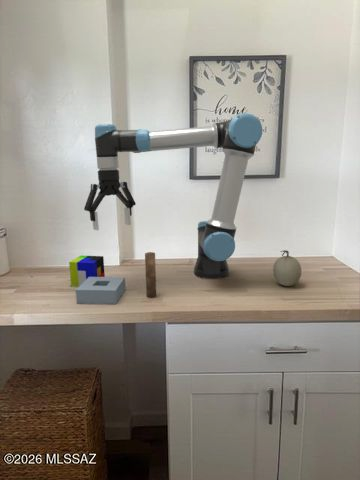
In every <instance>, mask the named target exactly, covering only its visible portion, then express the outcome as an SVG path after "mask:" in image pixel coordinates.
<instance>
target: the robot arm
mask: <svg viewBox="0 0 360 480" xmlns="http://www.w3.org/2000/svg"><path fill="white" fill-rule="evenodd" d="M262 136H263V125H262V123H261V120H260V119H259V118H258V117H257V116H256V115H254V114H252V113H238V114H236V115H235V116H234V117H232V118H230V119H228V120H225V121H222V122H214V123H213V124H212V125H211V126H209V125H208V126H199V127H198V126H197V127H188V128H186V127H185V128H176V129H165V130H152V131H151V130H150V131H149V130H148V129H127V130H123V129H122V130H121V129H120V130H119V129H117V127H116V125H115V124H112V123H108V124H106V123H104V124H103V123H101V124H96V125H95V127H94V140H95V141H94V142H95V152H96V153H95V154H96V164H97V165H96V166H97V169H99V170H98V171H97V177H98V184H96V183H91V184H90V192H89V193H88V197H87V199H86V202H85V206H84V211H86V212H89V220H90V221H91V222H92V228H93V230H94V231H99V230H100V229H99V227H100V226H99V219H98V218H99V217H98V211H96V210H97V209H98V208H99V206H100V204H101V203H102V201H103V200H104V198H105V197H106V196H115V197H117V198H118V199H119V200H120V201H121V203H122V204H123V205H124V206H125V207H124V209H123V210H124V224H125V225H127V226H131V216H132V212H133V211H132V208H133V207H134V206H136V204H137V203H136V202H135V201H136V200H134V199H135V198H133V195H132V194H131V191H130V190H129V186H128V182H126V181H121V182H120V170H119V169H118V168H119V166H120V165H119V154H118V153H132V154H133V153H134V154H140V153H147V152H157V151H169V150H171V151H172V150H181V149H191V148H192V149H193V148H202V147H203V148H204V147H213V148H215V149H222V152H223V153H224V160H223V164H222V168H221V173H220V178H219V182H218V187H217V192H216V196H215V201H214V206H213V210H212V214H211V218H210V219H208V220H203V221H198V223H197V258H196V261H195V265H194V268H193V274H194V275H195V276H197V277H198V278H202V279H208V280H209V279H211V280H213V279H222V278H225V277H228V276H229V275H230V268H229V264H228V259H229V258H231V257H232V256H233V254H234V253H235V250H236V241H235V236H236V233H237V227H236V225H235V223H234V221H235V218H236V213H237V210H238V206H239V201H240V197H241V194H242V193H241V192H242V188H243V184H244V180H245V176H246V170H247V167H248V161H249V160H250V159H251V158H252V157H254V156H255V151H256V147H257V144H259V142H260V141H261V138H262ZM120 188H121V190H122V191H121V190H120ZM98 190H99V192H98V194H97V191H98ZM122 192H123V193H122ZM96 195H97V196H96Z"/></svg>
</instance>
